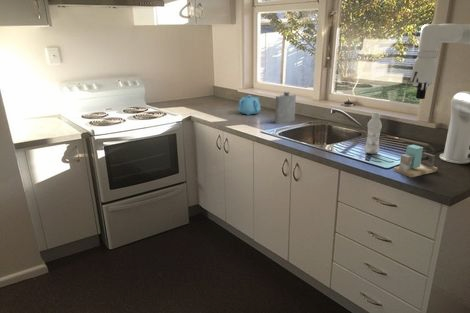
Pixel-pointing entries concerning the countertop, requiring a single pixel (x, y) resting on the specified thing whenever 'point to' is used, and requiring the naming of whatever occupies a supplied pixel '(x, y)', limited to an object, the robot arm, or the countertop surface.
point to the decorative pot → (249, 105)
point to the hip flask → (285, 108)
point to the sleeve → (415, 155)
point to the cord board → (425, 167)
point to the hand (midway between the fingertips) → (420, 98)
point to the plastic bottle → (373, 134)
